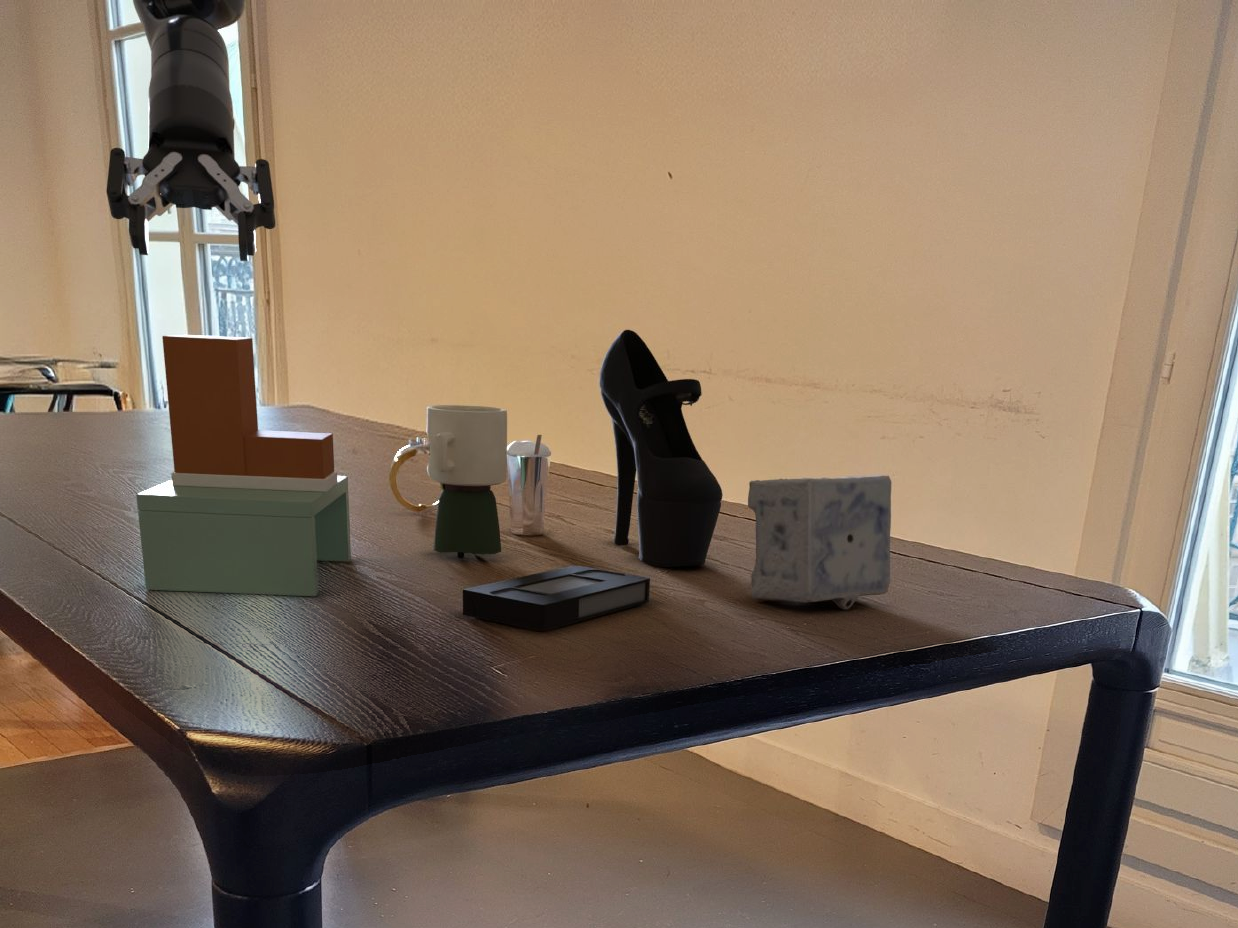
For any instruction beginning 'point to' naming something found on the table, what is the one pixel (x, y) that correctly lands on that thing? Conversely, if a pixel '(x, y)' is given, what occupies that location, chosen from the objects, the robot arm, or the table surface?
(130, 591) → the table surface
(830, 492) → the incense holder
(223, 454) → the ankle boot
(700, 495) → the high-heeled shoe
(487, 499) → the character mug
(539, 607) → the vhs tape
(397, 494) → the ring
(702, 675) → the table surface
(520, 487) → the milkshake
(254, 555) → the shoe shelf
